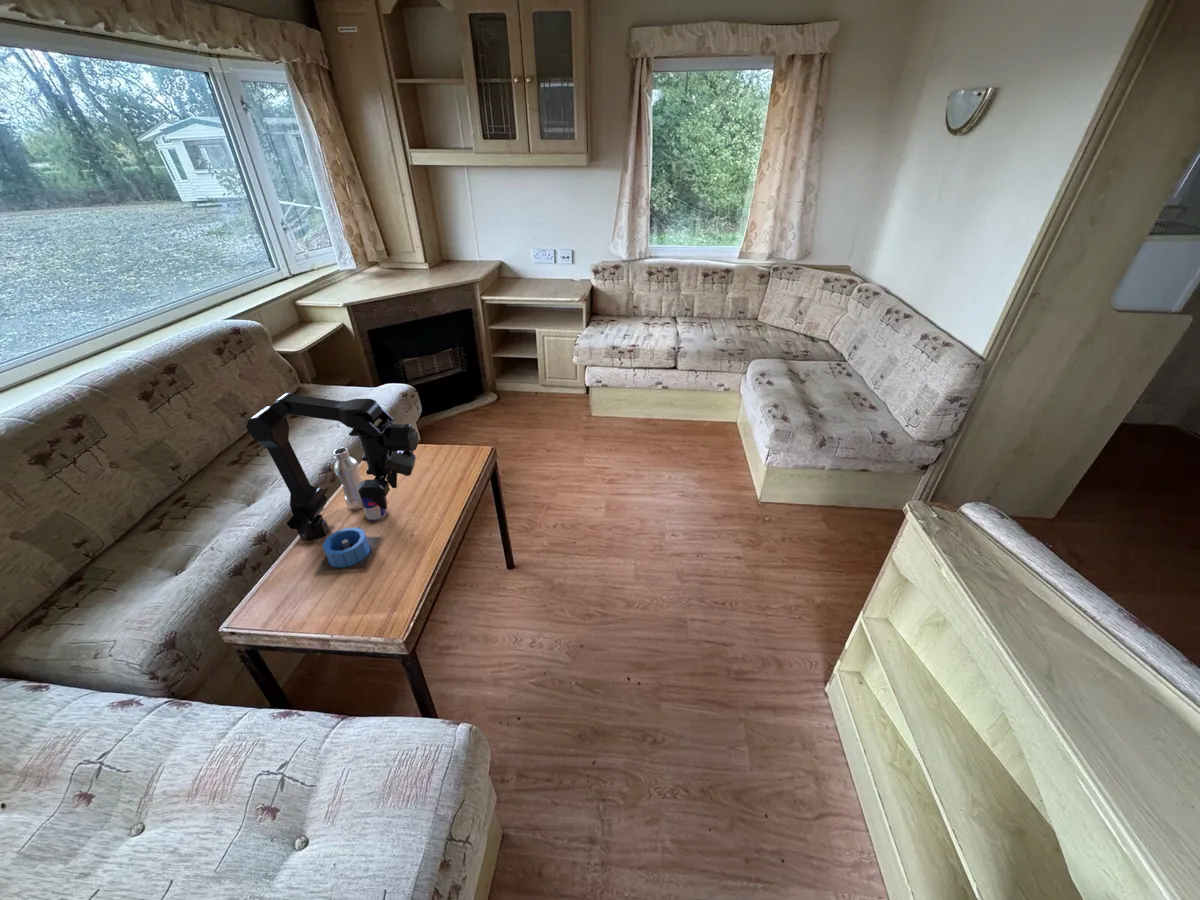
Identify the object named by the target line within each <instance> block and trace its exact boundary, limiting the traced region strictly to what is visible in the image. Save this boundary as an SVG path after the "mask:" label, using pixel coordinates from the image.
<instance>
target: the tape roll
mask: <svg viewBox="0 0 1200 900" xmlns="http://www.w3.org/2000/svg"><path fill="white" fill-rule="evenodd" d="M367 538H368V537H367V535H366V533H365V530H364V529H362V528H360V527H354V526H353V527H344V528H342V529H339V530H336V531H334V532H332V533H331V534H330V535H329V536H326V538H325V540H324V542H323V543H322V550H323V553H324V554H325V557H327V559H328V562H329V564H330V565H332V566H334V567H337V568H340V567H349V566H351V565H354V564H357V563H358V562H360V561H361V560H363V559H364V558H365V557H366V556H367V555H368V553H369V551H370V546H369V543H368V540H367ZM345 539H347V540H348V541H349V544H355V545H353V546H352V547H350V548H348V549H345V550H339V549H341V548H342V547H343V545H342V541H343V540H345Z"/></svg>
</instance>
